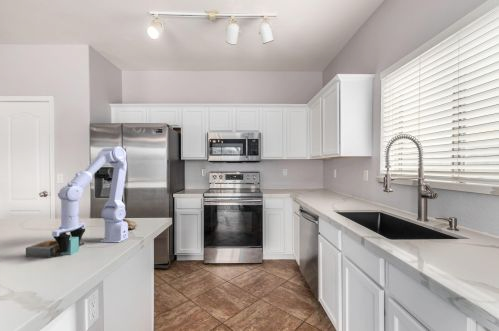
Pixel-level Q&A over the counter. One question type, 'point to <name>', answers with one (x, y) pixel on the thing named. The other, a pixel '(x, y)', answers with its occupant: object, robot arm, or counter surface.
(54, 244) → the brown rectangular frame
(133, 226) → the decorative stone
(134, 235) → the counter surface
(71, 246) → the aqua rectangular prism
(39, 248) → the backstop
